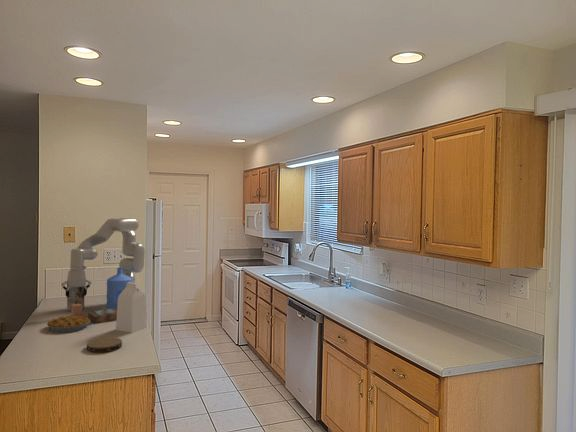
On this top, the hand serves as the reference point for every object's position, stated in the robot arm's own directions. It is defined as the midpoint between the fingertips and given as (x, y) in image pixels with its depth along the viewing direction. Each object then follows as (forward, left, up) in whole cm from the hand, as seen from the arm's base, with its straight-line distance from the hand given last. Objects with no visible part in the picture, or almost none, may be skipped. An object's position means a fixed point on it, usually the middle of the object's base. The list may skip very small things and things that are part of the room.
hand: (76, 296), depth 271 cm
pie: (+9, +23, -13) cm, 28 cm away
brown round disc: (+4, +69, -13) cm, 70 cm away
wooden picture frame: (-13, +16, -12) cm, 24 cm away
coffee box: (-5, -18, -13) cm, 23 cm away
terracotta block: (-1, 0, -13) cm, 13 cm away
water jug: (-27, 0, -13) cm, 29 cm away
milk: (-18, +45, -13) cm, 50 cm away
